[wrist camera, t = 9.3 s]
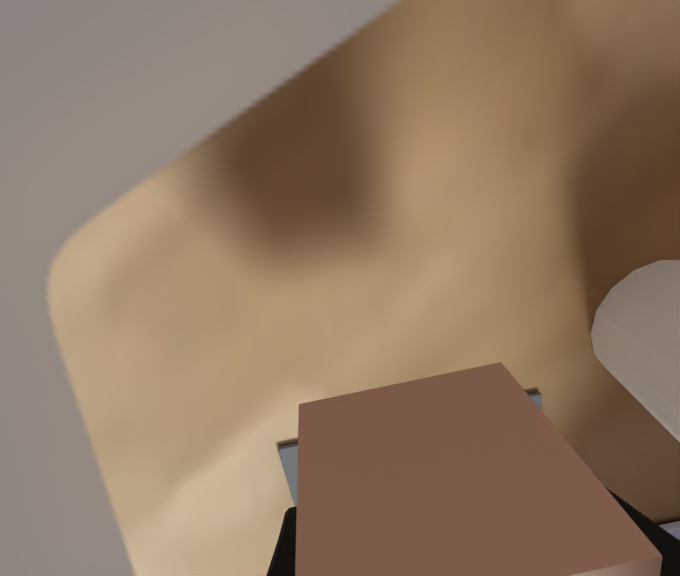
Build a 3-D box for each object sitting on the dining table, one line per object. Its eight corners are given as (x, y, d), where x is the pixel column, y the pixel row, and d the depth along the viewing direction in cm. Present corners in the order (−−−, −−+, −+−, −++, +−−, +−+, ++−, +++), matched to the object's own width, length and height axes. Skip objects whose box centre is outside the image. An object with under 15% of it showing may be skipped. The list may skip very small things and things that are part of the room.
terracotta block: (500, 362, 10) (663, 556, 6) (510, 511, 12) (638, 752, 7) (299, 404, 10) (293, 633, 6) (338, 547, 12) (358, 811, 7)
